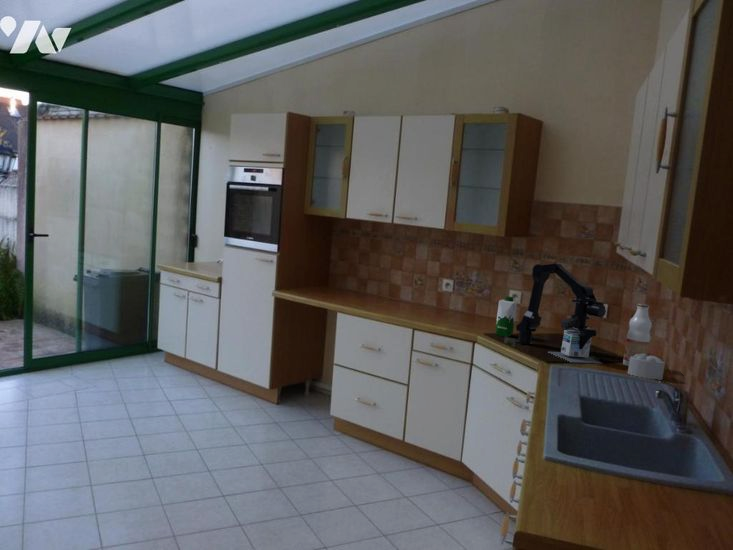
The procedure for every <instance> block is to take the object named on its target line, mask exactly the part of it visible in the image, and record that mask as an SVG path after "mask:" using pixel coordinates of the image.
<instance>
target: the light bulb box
mask: <svg viewBox="0 0 733 550" xmlns="http://www.w3.org/2000/svg"><path fill="white" fill-rule="evenodd" d="M578 334H580V331H572V330H564V329H563V336H562V341H561V343H562V344H561V347H560V352H561V353H563V354H565V355H567V356H574V357H589V355H590V350H591V343H592V338H593V337H591V338H590V339H589V340H588V341H587V343H586V344H585V346H584V347H583V348H582V349H579V343H580V337H579V335H578Z"/></svg>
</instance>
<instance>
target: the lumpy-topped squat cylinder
mask: <svg viewBox="0 0 733 550" xmlns="http://www.w3.org/2000/svg"><path fill="white" fill-rule="evenodd" d="M665 365H666V363H665V361H663V360H662V359H661V358H659V357H657V356H655V355H648V354H647V355H646V354H636V355H635V356H631V357H630V361H629V366H628V369H627V374H628V375H629V374H630V376H632V375H634V376H633V377H636V376H638V377H637V378H641V377H643V378H642V379H646V378H648V380H655V379H658V381H662V380H663V376H664V373H665Z"/></svg>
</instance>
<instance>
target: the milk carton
mask: <svg viewBox="0 0 733 550" xmlns="http://www.w3.org/2000/svg"><path fill="white" fill-rule="evenodd" d="M504 298H505V299H500V300H498V305H497V306H498V307H497V313H496V320H495V321H496V322H495V335H496V336H501V337H505V336H508V337H507V338H510V337H512V336H511V335H513V333H514V332H513V331H514V327H515V320H516V314H517V303H518V301H514V297H513V296H509V295H508V296H505V297H504ZM509 336H510V337H509Z"/></svg>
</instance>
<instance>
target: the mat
mask: <svg viewBox="0 0 733 550" xmlns="http://www.w3.org/2000/svg"><path fill="white" fill-rule="evenodd" d="M547 353H548V354H550V353H551V355H552V354H553V356H555V357H557V356H558V357H557V358H559V357H560V358H559V359H562V358H563V359H562V360H564V359H565V360H564V361H566V360H567V361H566V362H568V361H569V363H571V364H572V363H573V364H590V363H594V364H593V365H603V362H601V361H598V360H597V359H593V358H591V357H589V356H588V357H574V356H567V355H565V354H563V353H561V351H560V352H559V351H547Z"/></svg>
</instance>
